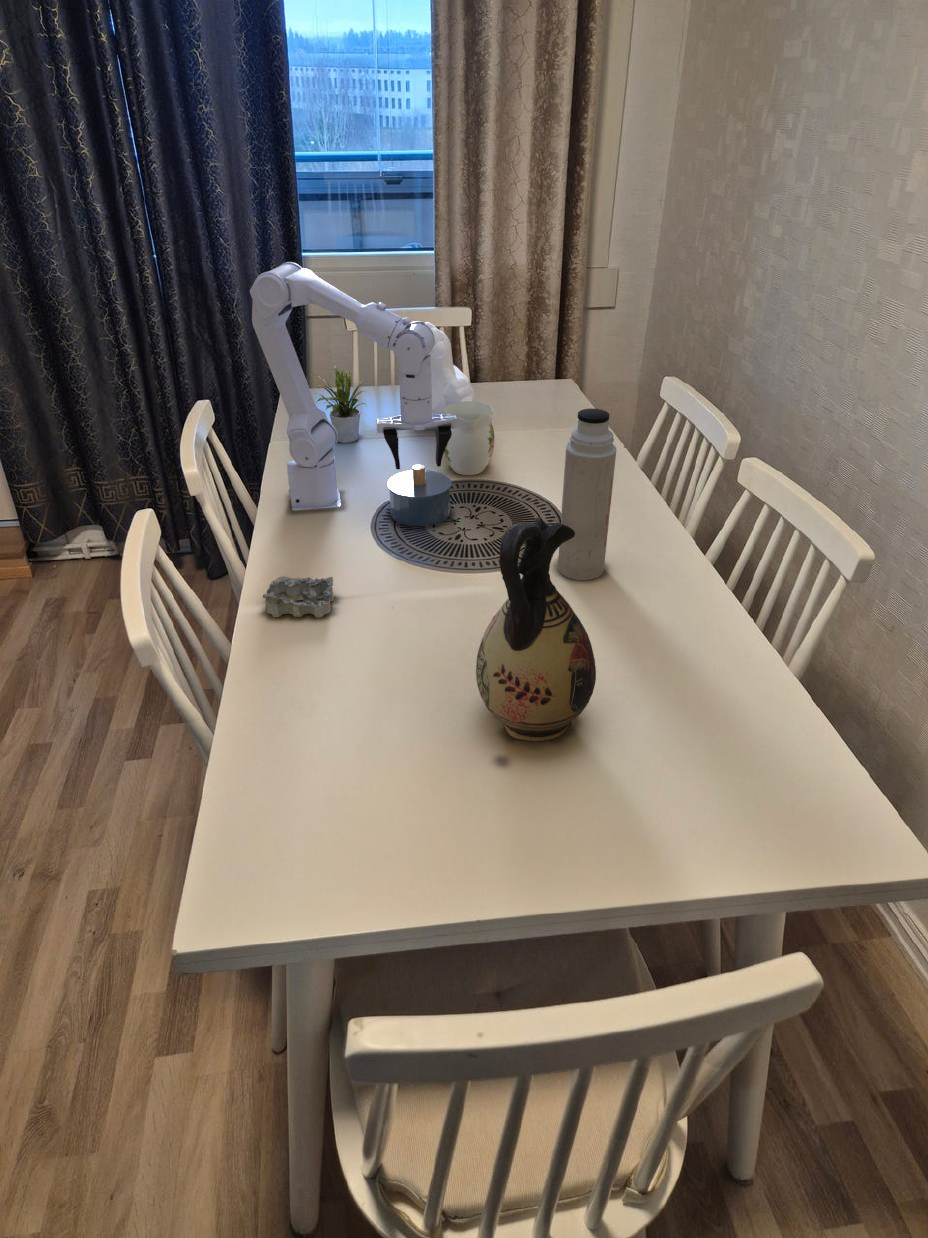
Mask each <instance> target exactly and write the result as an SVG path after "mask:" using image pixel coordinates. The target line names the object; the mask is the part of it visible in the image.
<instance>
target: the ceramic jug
mask: <svg viewBox="0 0 928 1238" xmlns="http://www.w3.org/2000/svg"><path fill="white" fill-rule="evenodd" d="M574 536H575V532H574V530H572V529H571V528H570V527H568V526H566V525H563V524H561V522H556V523H554V524H551V525H549V524H547V523H546V522H545V520H543V518H542V517H540V516H538V517H536V518H535V519H534V523H532V522H529V521H522V522H516V523H514V524H512V525H510V526H508V528H507V529H506V530H505V531H504V533H503V535H502V538H501V540H500V547H499V559H498V562H499V563H498V565H499V568H500V574H501V576H502V581H503V582H504V585H505V589H506V592H507V593H506V594H507V597H508V598H507V599H506V600H505V601H504V603H502V606H500V609H499V610H498V611H497V612H496V613H495V615H493V617H492V618H491V621H490V622H489V623H488V625H487V627H486V629H485V631H484V633H483V636H482V637H481V640H480V644H479V646H478V650H477V655H476V663H475V678H476V685H477V689H478V692H479V695H480V698H481V699H482V702H483V703H484V705H485V707H486V709H487V710H488V711H489V712H490V713H492V715H494V716H495V717H496V718H497V719H498V720H499V721H501V723H502V726H503V727H504V729H505V731H506V732H507V734H508V735H509V736H510V737H511V738H513V739H516V740H523V741H528V742H542V741H549V740H551V741H552V740H555V739H556V738H559V737H560V736H561V735H563V734H565V733H566V732H567V731H568V730H569V729H570V728H571V727H572V725H573V724H572V723H573V721H574V720H576V719H577V718H578V717H579V716H580V715H581V714H582V713H583V711H584V710H585V708H586V707H587V706H588V704H589V702H590V700H591V698H592V696H593V694H594V690H595V685H596V682H597V681H596V680H597V668H596V660H595V654H594V650H593V646H592V642H591V640H590V637H589V634H588V632H587V630H586V628H585V626H584V625H583V623H582V622H581V619H580V618H579V617H578V615H577V614H576V613H575V611H574V609H573V608H572V607H571V605H570V603H569V602H568V601H567V600H566V599H565V597H564V596H563V595H562V594H561V593H560V592H559V591H558V590H557V588H556V586H555V585H554V584H553V581H552V580H551V575H550V569H551V563H552V559H553V558H554V557H553V556H554V554H555V553H556V551H557V550H558V549H559V546H560V545H561V544H562V543H564V542H566V541H568V540H570V539H572V538H573V537H574ZM524 544H525V545H524ZM523 545H524V549H523V551H522V553H521V558H520V562H519V557H520V551H521V548H522V547H523ZM500 761H501V762H503V760H500Z"/></svg>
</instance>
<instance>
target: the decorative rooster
mask: <svg viewBox="0 0 928 1238" xmlns="http://www.w3.org/2000/svg"><path fill="white" fill-rule="evenodd" d="M423 323H424V324H425V325H427V326H428V327H429V328H430V329H431V330H432V332H433V334H434V338H435V343H434V346H433V348H432V350H431V351H430V353H429V354H430V355H431V377H432V414H440V415H444V408H445V407H446V406H447V405H450V404H452V403H456V402H465V401H472V402H474V398H475V393H474V389H473V387H472V384H471V382H470V379H469V378H468V377H467V376H466V375H465V374H464V373H463V372H462V371H461V369H460V368H459V367H457V366H456V365H455V364H454V361H453V352H452V344H451V341H450V338H449V337H448V336H447V334H446V333H445V332H444V331H442V330H440V329H438V327H436V325H434V324H433V323H432V322H430V321H425V322H423ZM429 354H427V355H429ZM427 355H426V356H427Z"/></svg>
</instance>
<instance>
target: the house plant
mask: <svg viewBox="0 0 928 1238" xmlns="http://www.w3.org/2000/svg"><path fill="white" fill-rule="evenodd" d="M333 369H334V373H335V381H334V382H335V386H336V391H335V390H334V389H333V388H332V387H331V386H330V384H329V383H328V382H327V380H325V379H324V378H323V377H322V376H319V375H317V374H314V376H316V377H317V378H318V380H319V379H320V380H323V382H324V383H325V384H326V385H323V384H322V386H320V387H318V389H322V388H323V390H326V391H327V392H328V393H329V394H330V395H331V396H329V397H326V396H324V395H323V394H321V393H317V392H314V394H317V395H319V396H320V398H318V399H317V400H316V403H318V402H321V401H324V400H325V402H323V404H327V405H326V406H325V410H328V409H331V408H332V409H331V410H330V411H329V413H328V415H329V419H330V423H331V424H332V425H333V426H334V427H335V429H336V431H337V434H338V441H337V442H339V443H346V444H347V443H353V442H356V441H357V440H359V430H360V419H361V411H360V410H359V408H357V407H359V406H360V405H365V406H367V404H366V402H361V403H358V404H357V402H359V399H358V398H357V397H358V396H359V395H361V394H362V393H365V392H367V393H368V391H367V390H360V391H358V390H359V388H360V387H361V386H362V385H363V384H366V383H367V381H365V382H363V379H365V378H366V376H365V377H363V379H361V380H360V382H359V384H358V385H357V386H356V388H355V389H354V390H353V392H352V394H351V390H352V389H351V387H352V375H351V372H350V371H348V370H347V369H345V367H343V368H341V370H340V371H339V369H338V367H337V366H336V365H333ZM344 370H345V371H344ZM309 375H311V376H313V374H312V373H311V374H310V373H309Z"/></svg>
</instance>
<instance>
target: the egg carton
mask: <svg viewBox="0 0 928 1238" xmlns="http://www.w3.org/2000/svg"><path fill="white" fill-rule="evenodd" d="M333 586H334V577H333V576H330V577H325V578H324V577H322V578H320V579H319V578H317V577H315V578H314V579H313V577H310V576H308V577H296V578H295V577H289V576H285V575H284V576H283V575H282V576H279V577H276V578H275V579H273V580H272V581H271V582H270V583H269V586H268V588H267V590H266V593H264V594H263V595H262V599H264V600H265V601H264V603H265V609H266V614H269V615H272V617H273V618H280V617H281V616H282V615H285V614H290V615H292V616H293V618H301V617H303V616H305V615H307V614H308V615H309V614H311V615H314V617H315V618H322V617H323V616H325V615H328V614H330V613H331V610H332V609H331V602H333V601H334V599H335V598H334V587H333ZM281 593H285V594H286V596H289V597H296V596H298V595H300V594H301V596H302V599H295V600H293V599H292V598H289V599H287V598H285V597H278V595H280V594H281ZM321 594H322V596H323V597H320V598H319V597H318V596H319V595H321Z"/></svg>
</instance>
